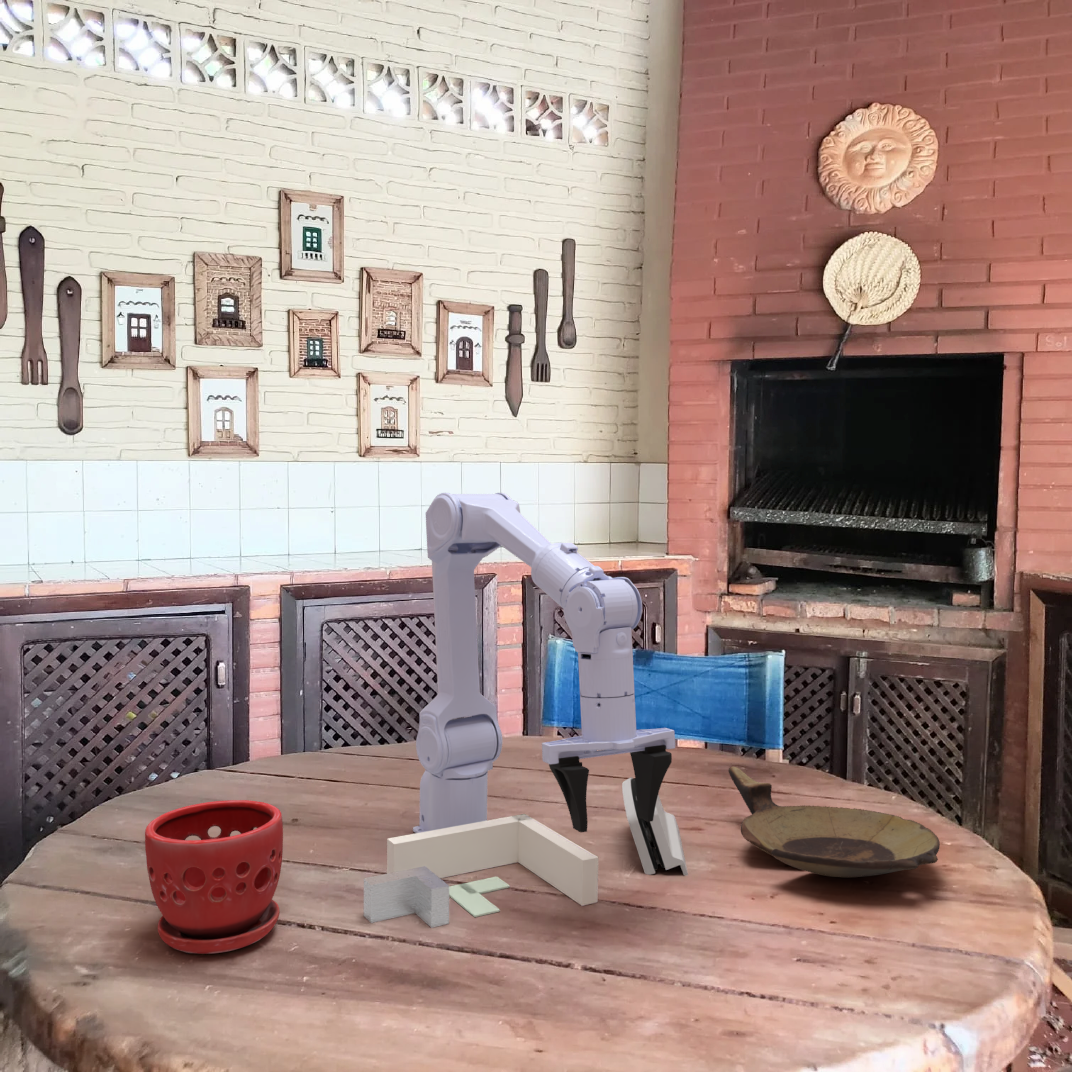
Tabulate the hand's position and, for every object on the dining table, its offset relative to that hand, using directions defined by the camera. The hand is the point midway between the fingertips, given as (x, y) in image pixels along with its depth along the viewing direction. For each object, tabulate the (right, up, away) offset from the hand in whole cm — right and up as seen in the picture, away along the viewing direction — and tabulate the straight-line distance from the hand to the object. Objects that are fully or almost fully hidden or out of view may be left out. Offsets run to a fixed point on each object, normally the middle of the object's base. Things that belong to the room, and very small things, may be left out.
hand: (613, 824), depth 106 cm
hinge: (+6, -9, +21) cm, 24 cm away
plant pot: (-40, -10, -4) cm, 42 cm away
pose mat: (-14, -9, +6) cm, 17 cm away
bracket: (-22, -10, 0) cm, 24 cm away
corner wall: (-13, -9, +7) cm, 18 cm away
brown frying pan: (+28, -10, +19) cm, 35 cm away
